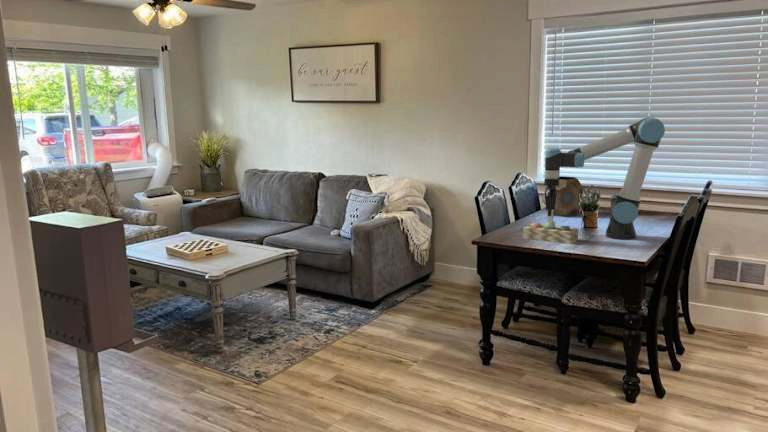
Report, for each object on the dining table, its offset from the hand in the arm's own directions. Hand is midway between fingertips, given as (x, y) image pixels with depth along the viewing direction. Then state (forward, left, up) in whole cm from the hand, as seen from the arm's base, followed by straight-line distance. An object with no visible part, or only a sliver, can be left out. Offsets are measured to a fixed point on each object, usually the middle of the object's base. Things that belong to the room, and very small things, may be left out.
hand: (550, 221), depth 308 cm
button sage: (0, 0, -4) cm, 4 cm away
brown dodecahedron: (+19, -74, -10) cm, 77 cm away
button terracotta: (+8, 0, -6) cm, 10 cm away
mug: (+36, -97, -10) cm, 103 cm away
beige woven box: (0, 0, -10) cm, 10 cm away
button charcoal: (-8, 0, -6) cm, 10 cm away
